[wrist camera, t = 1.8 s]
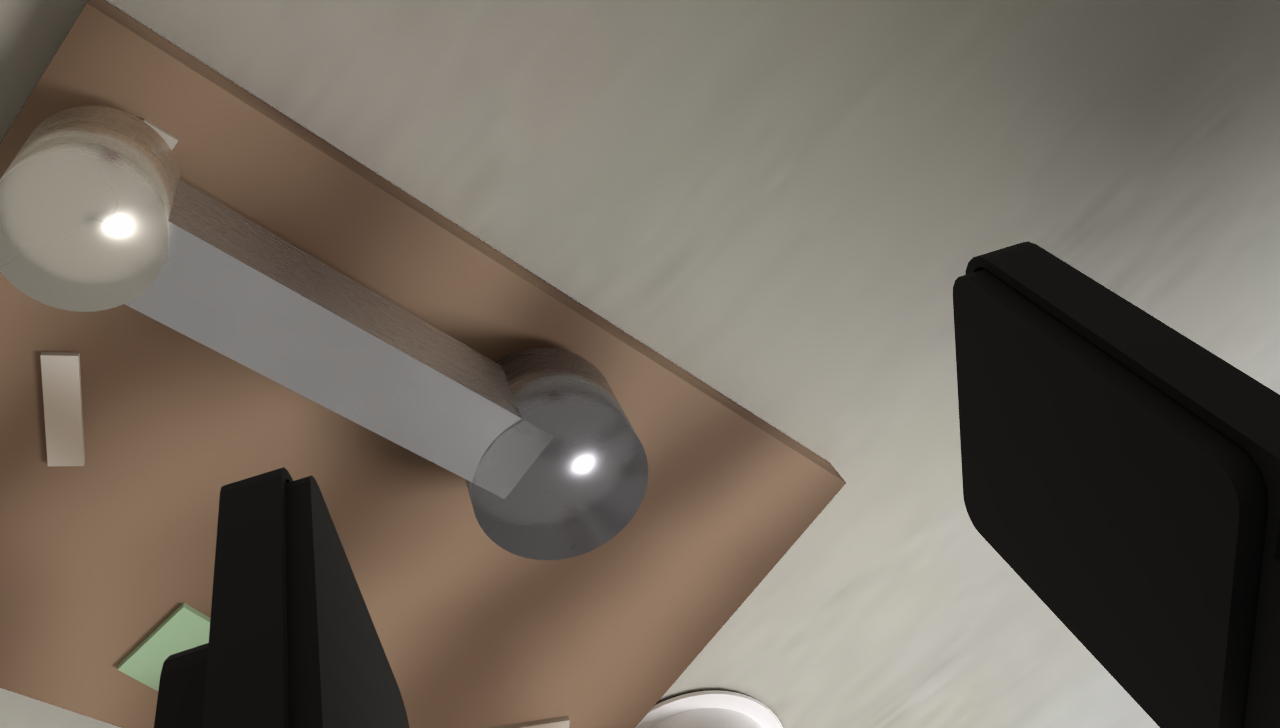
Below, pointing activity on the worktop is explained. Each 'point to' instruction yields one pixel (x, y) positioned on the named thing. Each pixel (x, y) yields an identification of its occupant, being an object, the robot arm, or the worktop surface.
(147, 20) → the worktop surface
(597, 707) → the dial board
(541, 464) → the peg lever
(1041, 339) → the robot arm
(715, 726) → the downlight
